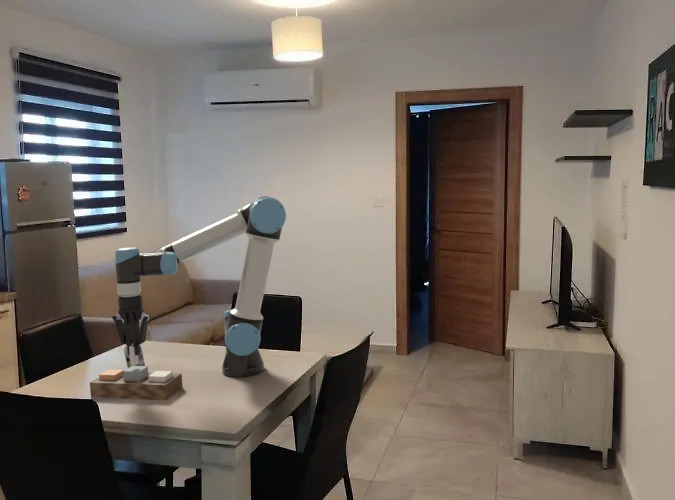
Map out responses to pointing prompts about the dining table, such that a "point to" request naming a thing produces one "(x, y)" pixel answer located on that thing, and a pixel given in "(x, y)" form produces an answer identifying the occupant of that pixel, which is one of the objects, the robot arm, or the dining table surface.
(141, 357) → the beverage can
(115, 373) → the terracotta key
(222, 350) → the dining table surface
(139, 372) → the slate key
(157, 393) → the console
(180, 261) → the robot arm
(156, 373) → the offwhite key
